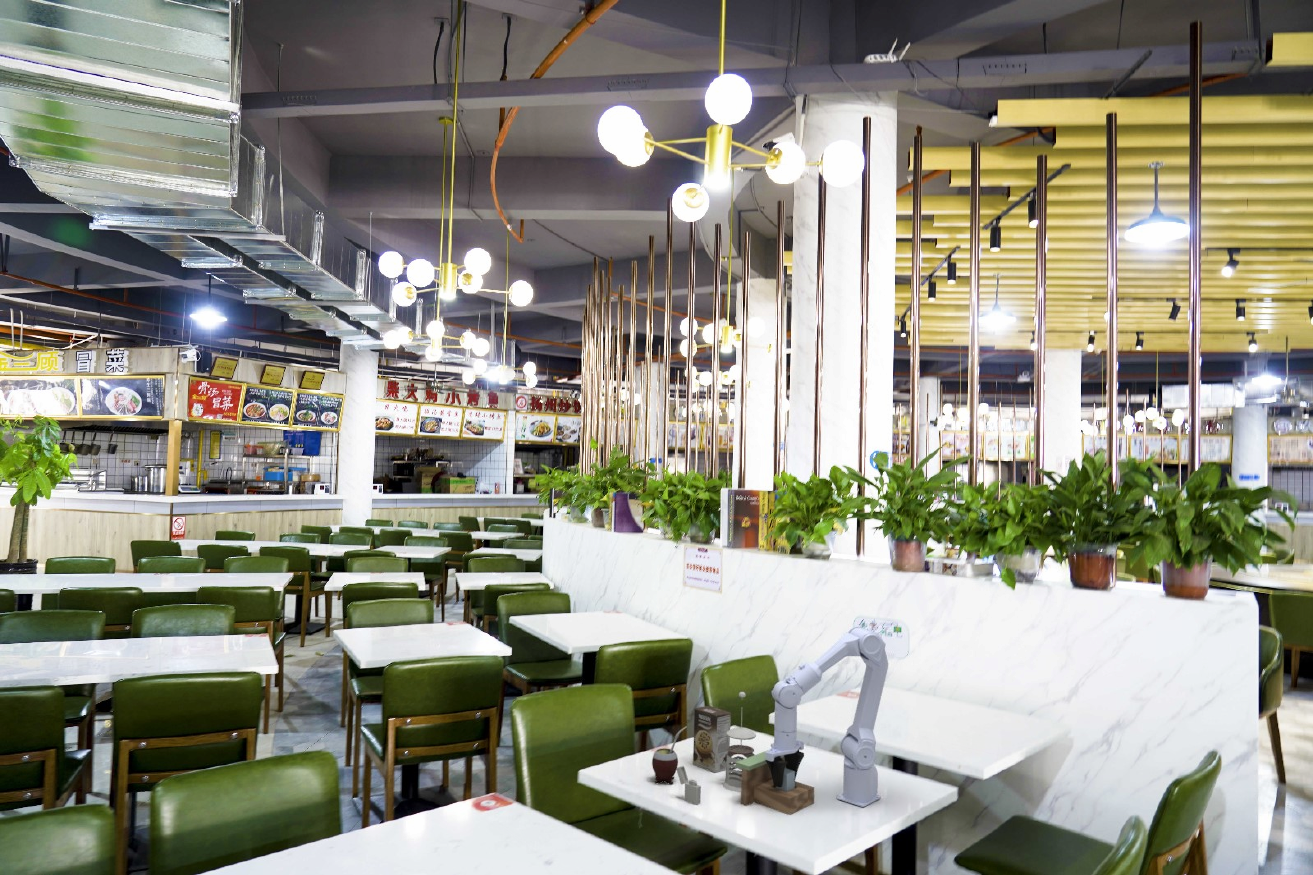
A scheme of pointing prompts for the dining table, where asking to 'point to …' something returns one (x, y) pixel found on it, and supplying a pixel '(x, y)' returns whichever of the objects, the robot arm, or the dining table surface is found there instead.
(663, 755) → the mate gourd
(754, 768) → the socket holder
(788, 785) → the peg
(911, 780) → the dining table surface
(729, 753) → the french press
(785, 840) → the dining table surface
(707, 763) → the coffee box
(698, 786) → the lighter
